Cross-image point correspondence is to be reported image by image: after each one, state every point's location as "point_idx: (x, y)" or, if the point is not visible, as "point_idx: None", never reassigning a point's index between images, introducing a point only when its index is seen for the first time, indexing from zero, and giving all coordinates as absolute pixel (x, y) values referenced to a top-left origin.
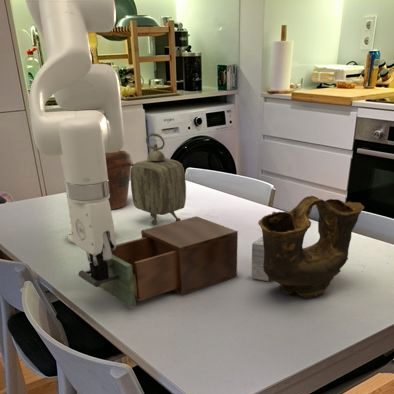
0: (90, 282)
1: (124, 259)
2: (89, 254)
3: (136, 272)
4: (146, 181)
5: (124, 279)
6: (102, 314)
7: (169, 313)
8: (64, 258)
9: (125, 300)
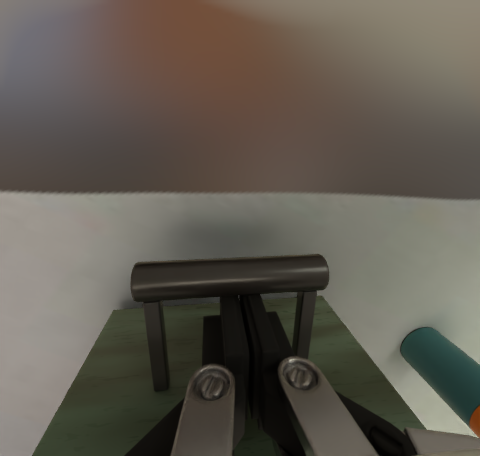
0: (183, 261)
1: None
2: (300, 424)
3: None
4: None
5: (101, 395)
6: (157, 225)
7: (46, 374)
8: None
9: (143, 316)
